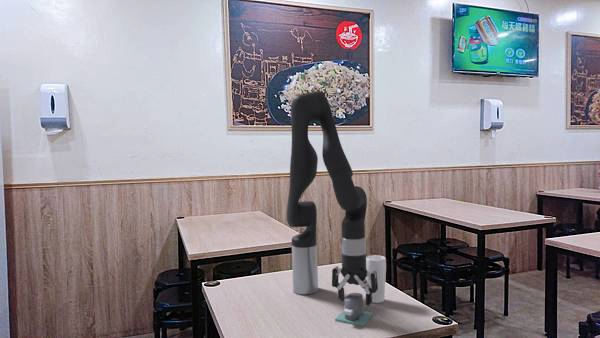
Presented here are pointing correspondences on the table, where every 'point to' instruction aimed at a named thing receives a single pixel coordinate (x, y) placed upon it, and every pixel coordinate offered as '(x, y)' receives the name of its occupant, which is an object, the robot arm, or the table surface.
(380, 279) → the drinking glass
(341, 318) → the mat
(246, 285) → the table surface
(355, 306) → the grey lobed figure
